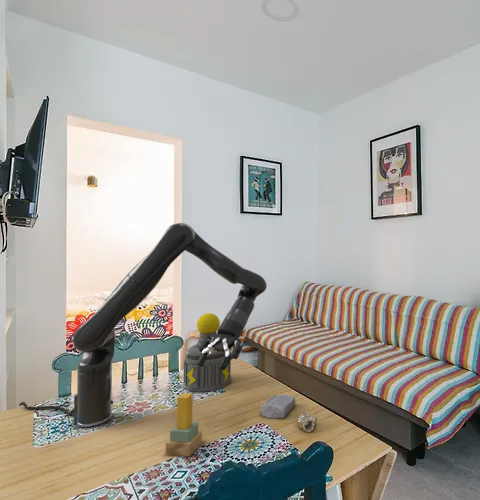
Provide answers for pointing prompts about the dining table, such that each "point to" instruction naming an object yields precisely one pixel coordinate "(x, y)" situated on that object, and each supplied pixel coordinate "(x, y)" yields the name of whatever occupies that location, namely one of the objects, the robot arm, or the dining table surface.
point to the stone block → (278, 406)
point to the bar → (184, 411)
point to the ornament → (306, 422)
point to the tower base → (184, 446)
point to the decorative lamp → (210, 372)
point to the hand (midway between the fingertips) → (210, 367)
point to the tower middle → (184, 433)
